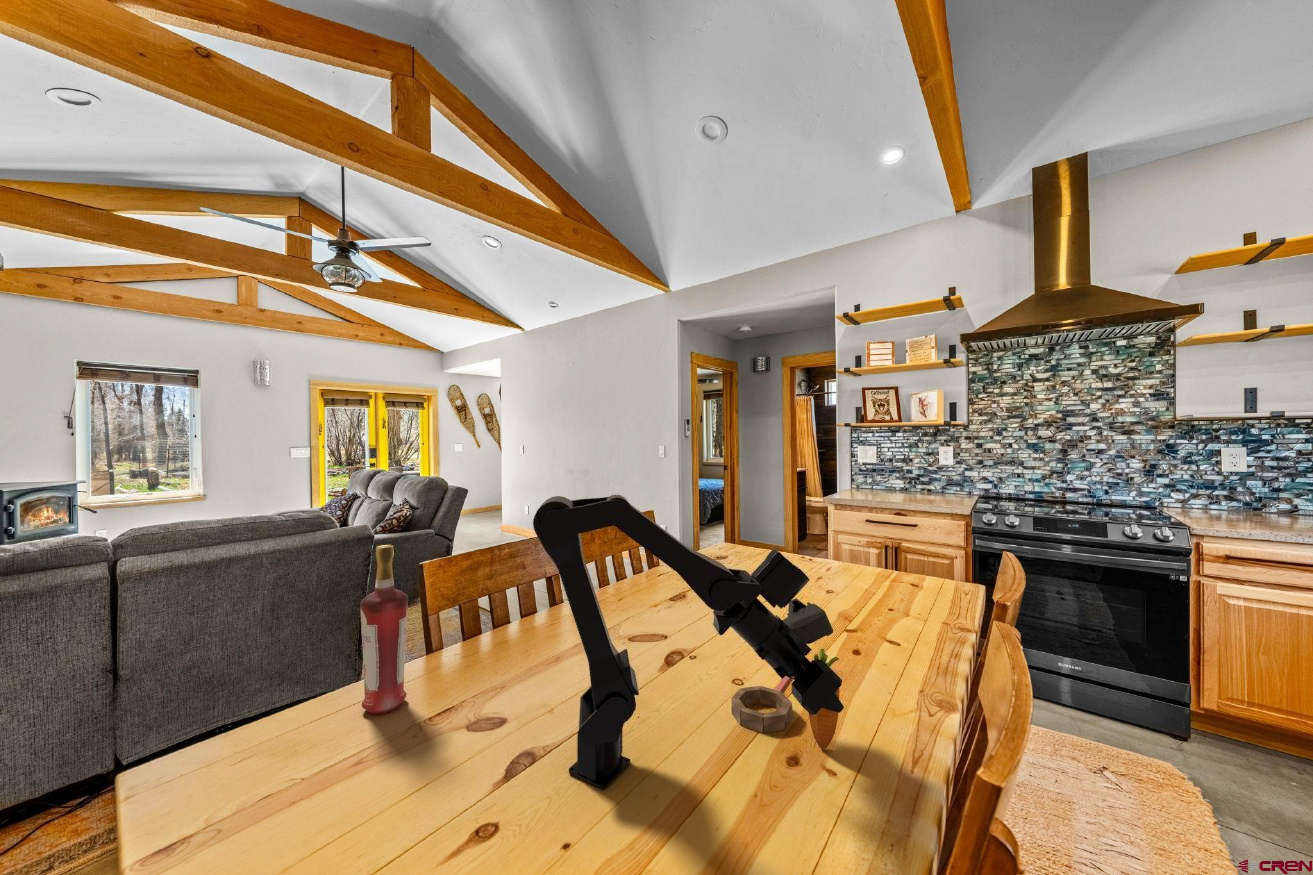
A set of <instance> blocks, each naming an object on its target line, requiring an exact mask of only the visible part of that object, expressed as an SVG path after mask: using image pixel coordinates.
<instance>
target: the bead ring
mask: <svg viewBox="0 0 1313 875" xmlns="http://www.w3.org/2000/svg"><path fill="white" fill-rule="evenodd" d="M730 700H731V703H730V704H731V711H730V712H731V715H732V716H733V718H734V719H735V720H736V722H737V723H738V724H739V726H741V727H743V728H746V729H749V730H752V731H755V732H758V733H760V734H762V733H764V734H768V733H772V732H773V733H774V732H778V731H779V732H781V731H785V730H787V728H788V726H789V725H790V723H791V721H792V720H793V702H792V701H791V700H790V699H789V698H788V697H787V696H786V695H785V694H784V693H783V691H781V692H780V691H778V690H775V688H774V689H772V688H771V687H766V686H763V685H754V686H753V685H752V686H747V687H746V686H744V687H740V688H738V690H737V691H736V692H735V693H734V695H732V697H731V699H730ZM758 704H761V705H765V706H767V707H771V708H773V709H774V708H775V709H776V710H775V711H768V712H761V711H757V710H754V709H751V708H747V707H746V706H752V705H758Z"/></svg>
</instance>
